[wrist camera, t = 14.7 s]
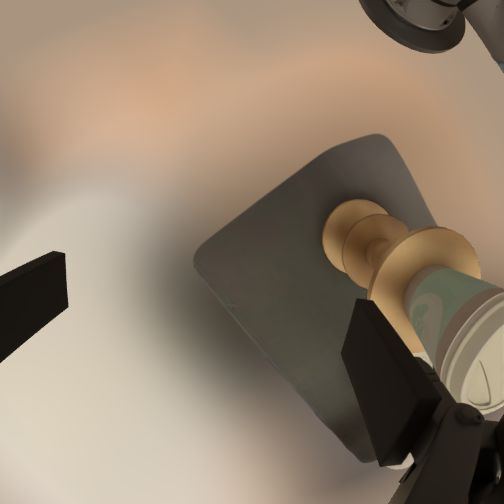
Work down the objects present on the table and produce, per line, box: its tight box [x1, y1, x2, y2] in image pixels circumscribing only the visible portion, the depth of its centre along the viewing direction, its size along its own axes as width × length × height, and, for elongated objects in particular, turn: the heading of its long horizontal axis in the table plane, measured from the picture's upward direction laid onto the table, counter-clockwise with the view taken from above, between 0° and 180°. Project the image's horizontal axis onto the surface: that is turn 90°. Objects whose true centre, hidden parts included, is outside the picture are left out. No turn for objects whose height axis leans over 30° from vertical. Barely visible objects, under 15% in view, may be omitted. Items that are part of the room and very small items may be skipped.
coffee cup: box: [403, 265, 504, 415], centre depth 19 cm, size 8×8×12 cm
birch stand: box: [322, 199, 410, 289], centre depth 37 cm, size 12×12×24 cm
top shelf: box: [367, 226, 481, 353], centre depth 25 cm, size 12×12×1 cm
